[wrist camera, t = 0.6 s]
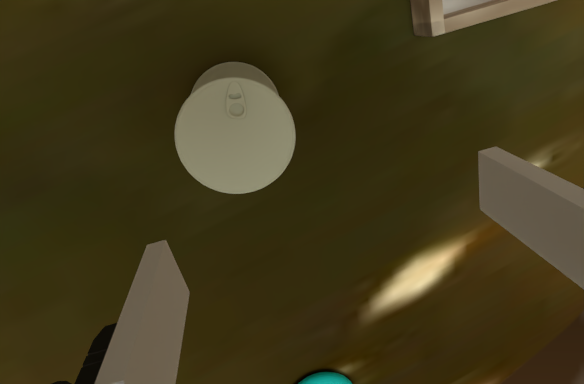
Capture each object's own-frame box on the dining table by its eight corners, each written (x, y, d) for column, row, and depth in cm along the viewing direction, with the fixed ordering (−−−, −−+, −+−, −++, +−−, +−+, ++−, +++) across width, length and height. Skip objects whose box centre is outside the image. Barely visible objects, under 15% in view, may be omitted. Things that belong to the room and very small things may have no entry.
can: (280, 61, 39) (298, 76, 28) (280, 150, 42) (296, 194, 31) (185, 61, 37) (165, 77, 26) (194, 153, 41) (179, 200, 30)
